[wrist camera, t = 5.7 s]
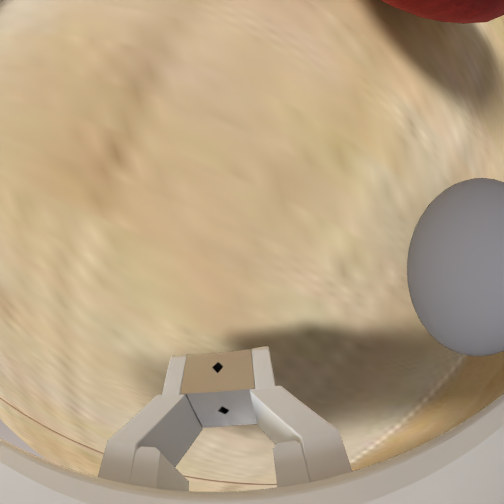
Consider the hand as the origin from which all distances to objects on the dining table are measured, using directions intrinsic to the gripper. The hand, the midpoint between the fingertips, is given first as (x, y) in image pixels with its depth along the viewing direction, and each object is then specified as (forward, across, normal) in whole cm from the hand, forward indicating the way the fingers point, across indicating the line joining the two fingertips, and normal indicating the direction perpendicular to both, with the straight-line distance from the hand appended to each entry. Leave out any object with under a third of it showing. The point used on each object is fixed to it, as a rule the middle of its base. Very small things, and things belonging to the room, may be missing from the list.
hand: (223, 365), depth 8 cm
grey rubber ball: (-1, +8, +3) cm, 9 cm away
